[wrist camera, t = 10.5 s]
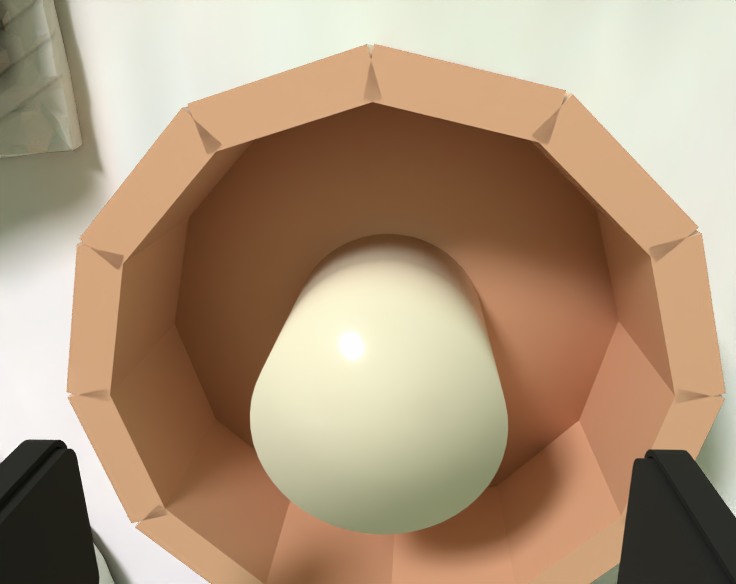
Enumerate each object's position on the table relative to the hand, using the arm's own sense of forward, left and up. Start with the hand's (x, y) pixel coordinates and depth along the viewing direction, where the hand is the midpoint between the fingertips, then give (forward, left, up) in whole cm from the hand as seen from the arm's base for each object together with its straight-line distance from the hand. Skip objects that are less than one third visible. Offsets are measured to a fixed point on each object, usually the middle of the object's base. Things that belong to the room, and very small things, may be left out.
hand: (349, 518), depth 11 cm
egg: (0, 0, -8) cm, 8 cm away
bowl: (0, 0, -9) cm, 9 cm away
